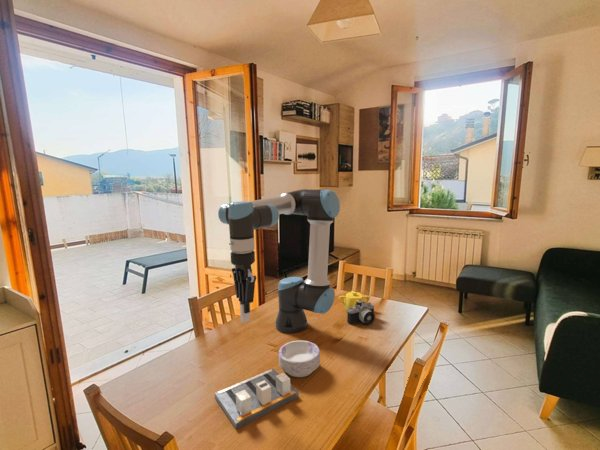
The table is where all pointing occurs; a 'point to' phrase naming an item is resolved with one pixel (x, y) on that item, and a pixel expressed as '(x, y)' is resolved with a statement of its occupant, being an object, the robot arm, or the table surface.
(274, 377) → the panel
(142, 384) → the table surface
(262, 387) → the breaker
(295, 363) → the paper bowls
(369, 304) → the camera
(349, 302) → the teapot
